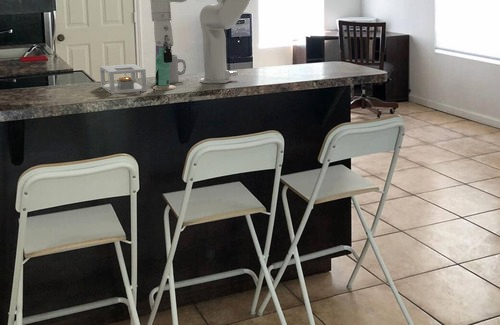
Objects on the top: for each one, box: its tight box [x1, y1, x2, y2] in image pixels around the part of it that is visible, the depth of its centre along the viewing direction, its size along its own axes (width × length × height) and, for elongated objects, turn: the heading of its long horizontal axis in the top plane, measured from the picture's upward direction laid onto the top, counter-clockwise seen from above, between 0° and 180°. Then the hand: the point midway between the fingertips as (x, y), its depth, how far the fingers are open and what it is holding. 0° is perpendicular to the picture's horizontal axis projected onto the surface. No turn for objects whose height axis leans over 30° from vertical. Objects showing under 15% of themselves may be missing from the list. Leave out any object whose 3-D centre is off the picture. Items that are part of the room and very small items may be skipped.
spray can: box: [155, 41, 170, 88], centre depth 273 cm, size 6×6×20 cm
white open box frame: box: [99, 63, 148, 95], centre depth 276 cm, size 14×18×8 cm
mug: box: [169, 54, 187, 84], centre depth 292 cm, size 12×8×11 cm
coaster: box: [152, 84, 177, 91], centre depth 277 cm, size 9×9×1 cm
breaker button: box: [118, 76, 132, 81], centre depth 273 cm, size 5×5×4 cm
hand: (164, 61), depth 275 cm, fingers open, 9 cm apart
